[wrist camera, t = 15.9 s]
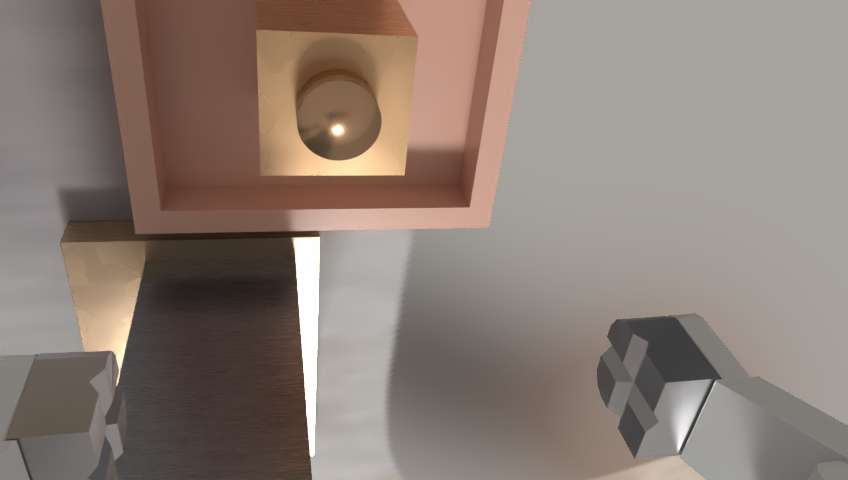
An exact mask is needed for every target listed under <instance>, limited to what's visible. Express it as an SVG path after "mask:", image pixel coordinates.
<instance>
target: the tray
mask: <svg viewBox="0 0 848 480" xmlns="http://www.w3.org/2000/svg"><path fill="white" fill-rule="evenodd" d="M531 1H532V0H398V2H399V4H400V5H401V7H402V9H403V11H404V12H405V14H406V16H407V18H408V19H409V21H410V23H411V25H412V26H413V28H414V30H415V32H416V33H417V35H418V47H417V57H416V67H415V76H414V86H413V96H412V106H411V116H410V126H409V136H408V146H407V156H406V166H405V175H361V176H261V172H260V138H259V105H258V72H257V38H256V4H257V0H100V2H101V9H102V16H103V22H104V29H105V35H106V42H107V49H108V55H109V62H110V68H111V75H112V82H113V88H114V95H115V102H116V108H117V115H118V121H119V128H120V135H121V141H122V148H123V155H124V161H125V168H126V174H127V181H128V188H129V194H130V201H131V208H132V214H133V221H134V227H135V234H164V233H218V232H271V231H325V230H378V229H430V228H431V229H432V228H482V227H483V228H485V227H489V226H490V220H491V215H492V209H493V204H494V199H495V193H496V188H497V182H498V177H499V172H500V166H501V161H502V156H503V151H504V145H505V139H506V135H507V129H508V124H509V118H510V113H511V107H512V103H513V97H514V92H515V87H516V81H517V76H518V71H519V65H520V60H521V54H522V49H523V43H524V39H525V33H526V28H527V23H528V17H529V12H530V6H531Z"/></svg>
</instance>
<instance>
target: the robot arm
mask: <svg viewBox="0 0 848 480" xmlns="http://www.w3.org/2000/svg"><path fill="white" fill-rule="evenodd" d="M607 337H608V339H609V341H610V342H611V344H612V346H611V347H610V348H609V349H608V350H607V351H606V352H604V353H603V354H602V355H601V358H600V361H599V365H598V368H597V379H598V388H599V391H600V394H601V397H602V399H603V401H604V403H605V405H606V407H607V408H608V409H609V410H611V411H612V412H614V413H615V414H617V415H618V416H620V417H621V418H620V422H619V426H618V429H619V431H620V433H621V435H622V436H623V438H624V440H625V441H626V444H627V445H628V447H629V449H630V451H631V453H632V455H633V456H634V458H635V459H640V458H651V457H664V456H677V455H681V456H680V458H681V459H682V460H683V461H684V462H686V463H687V464H688V465H689V466H691V467H692V468H693V469H694V470H695V471H697V472H698V473H699V474H700V475H702V476H703V477H704V478H705V479H706V480H848V425H845V424H844V423H842V422H840V421H839V420H837V419H835V418H833V417H831V416H829V415H827V414H826V413H824V412H822V411H820V410H819V409H817V408H815V407H813V406H811V405H809V404H808V403H806V402H804V401H802V400H800V399H799V398H797V397H795V396H793V395H791V394H789V393H788V392H786V391H784V390H782V389H780V388H778V387H777V386H775V385H773V384H771V383H769V382H768V381H766V380H764V379H762V378H760V377H750V376H749V374H748V373H747V372H746V371H745V369H744V368H743V367H742V366H741V364H740V363H739V362H738V361H737V359H736V358H735V357H734V356H733V354H732V353H731V352H730V351H729V350H728V348H727V347H726V346H725V345H724V343H723V342H722V341H721V340H720V338H719V337H718V336H717V335H716V333H715V332H714V331H713V330H712V329H711V327H710V326H709V325H708V324H707V322H706V321H705V320H704V319H703V318H702V317H701V316H699V315H697V314H695V313H693V314H681V315H670V316H658V317H645V318H630V319H617V320H616V321H615V322H614V323H613V324H612V325H611V327H610V330H609V333H608V336H607ZM118 373H119V367H118V362H117V358H116V354H115V353H114V352H113V351H93V352H68V353H43V354H39V355H10V356H1V357H0V480H118V473H117V469H116V464H115V460H116V459H117V458H118V457H119V456H120V455H121V454H122V453H123V451H124V445H125V439H126V426H127V412H126V401H125V396H124V391H123V390H122V389H120V388H119V387H118V386H116V383H117V378H118Z"/></svg>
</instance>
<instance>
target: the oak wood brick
mask: <svg viewBox="0 0 848 480" xmlns="http://www.w3.org/2000/svg"><path fill="white" fill-rule="evenodd" d="M256 38H257V72H258V105H259V138H260V172H261V176H361V175H405V166H406V156H407V146H408V136H409V126H410V116H411V106H412V96H413V86H414V76H415V67H416V57H417V47H418V35H417V33H416V32H415V30H414V28H413V26H412V25H411V23H410V21H409V19H408V18H407V16H406V14H405V12H404V11H403V9H402V7H401V5H400V4H399V2H398V0H257V4H256Z"/></svg>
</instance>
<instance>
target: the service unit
mask: <svg viewBox="0 0 848 480" xmlns="http://www.w3.org/2000/svg"><path fill="white" fill-rule="evenodd" d="M60 245H61V249H62V254H63V258H64V263H65V267H66V272H67V276H68V280H69V285H70V289H71V294H72V298H73V303H74V307H75V311H76V316H77V320H78V325H79V329H80V334H81V338H82V343H83V347H84V351H85V352H93V351H113V352H114V353H115V354H116V358H117V362H118V367H119V373H118V378H117V383H116V386H118V387H119V388H120V389H122V390H123V391H124V396H125V401H126V412H127V426H126V439H125V445H124V451H123V453H122V454H121V455H120V456H119V457H118V458H117V459H116V460H115V464H116V469H117V473H118V480H312V474H311V461H310V456H314V441H315V403H316V364H317V326H318V287H319V249H320V235H319V231H271V232H218V233H164V234H135V227H134V221H96V222H68V225H67V227H66V229H65V232H64V234H63V237H62V239H61V242H60Z"/></svg>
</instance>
